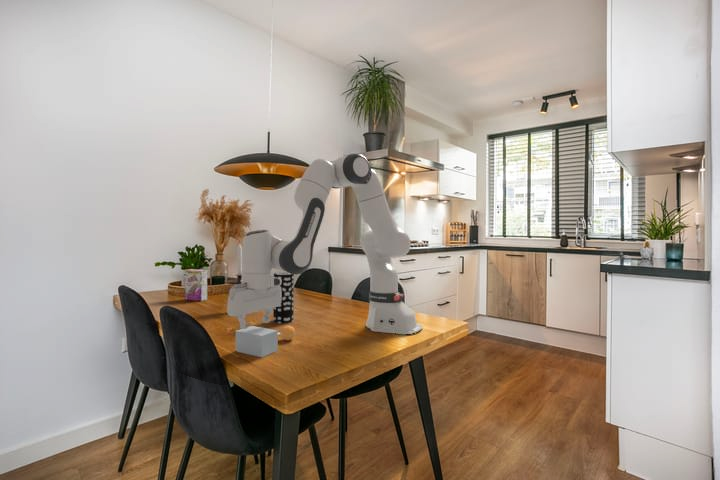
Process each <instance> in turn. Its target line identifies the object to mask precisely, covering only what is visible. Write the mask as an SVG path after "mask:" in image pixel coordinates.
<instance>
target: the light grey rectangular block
mask: <svg viewBox="0 0 720 480" xmlns="http://www.w3.org/2000/svg"><path fill="white" fill-rule="evenodd" d="M278 333H279V331H278V329H271V328H268V327H262V326H261V327H260V326H255V325H250V326H248V328H246V329H241V328H240V329H237V330H235V352H236V351H237V353H241V354H245V355H249V356H254V357H258V358H264V357H266V356H268V355H271V354H274V353H276V352H278V348H279V347H278V342H279V341H278V339H279V338H278V337H279V335H278Z"/></svg>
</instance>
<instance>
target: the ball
mask: <svg viewBox="0 0 720 480" xmlns="http://www.w3.org/2000/svg"><path fill="white" fill-rule="evenodd" d="M280 333H281V334H280V336H281V338H282V340H284V341H291V340H292V339H293V338H295V336H296V330H295V328H294V327H293V326H291V325H286V326H285V325H284V326H283V327H282V328H281V330H280Z"/></svg>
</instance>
